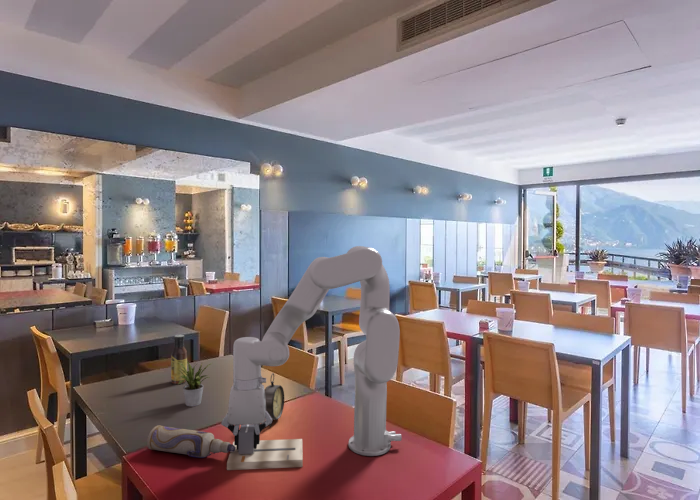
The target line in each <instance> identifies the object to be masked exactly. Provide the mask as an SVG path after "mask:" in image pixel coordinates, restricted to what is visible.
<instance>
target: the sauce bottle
mask: <svg viewBox="0 0 700 500" xmlns="http://www.w3.org/2000/svg"><path fill="white" fill-rule="evenodd" d="M173 340H174V343H173V348H172V351H171V353H170V380H171V384H173V385H178V384H179V382H180V380H181V381H182V380H185V379H182V377H181V376H182V375H183V374H184V375H186V374H187V373H186V374H185V373H184V371H185V370H184V368H183V366H182V365H181V364H183V365H184V367H185V369H186V370H187V371H188V363H187V361H188V350H187V348H186V347H185V335H184V334H175V335H174V336H173ZM178 362H179V363H178ZM180 363H181V364H180ZM179 368H180V369H179ZM181 369H182V370H184V371H182V370H181ZM180 371H181V372H182V373H183V374H182V373H181V372H180ZM185 372H186V371H185ZM186 376H187V375H186ZM175 379H178V380H175ZM184 383H187V381H186V380H185V381H184ZM184 383H183V382H182V383H180V384H181V385H182V384H184ZM180 384H179V385H180Z"/></svg>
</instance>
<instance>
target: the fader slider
mask: <svg viewBox="0 0 700 500" xmlns="http://www.w3.org/2000/svg"><path fill="white" fill-rule="evenodd" d="M254 433H255V427H254V424H247V425H240V426H239V454H253V453H254Z"/></svg>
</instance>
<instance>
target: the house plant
mask: <svg viewBox="0 0 700 500" xmlns="http://www.w3.org/2000/svg"><path fill="white" fill-rule="evenodd" d="M178 363H179V362H178ZM180 364H181V363H180ZM197 364H198V363H197ZM197 364H196V363H194V366H193V367H192V364H190V362H189V361H188V360H187V370H186V369H185V367H184V365H183V364H181V365H182V366H183V368H184V370H185V371H186V372H185V371H184V370H182V369H181V370H182V371H184V373H185V374H186V373H187V374H186V375H187V376H186V375H184V374H183V373H182V372H181V371H180V372H181V373H182V374H183V375H182V376H181V377H182V379H185V380H186V383H187V384H185V382H184V381H185V380H182V381H181V380H180V382H179V384H177V385H178V386H179V385H180V383H181V384H185V386H183V387H182V390H183V396H184V402H185V406H187V407H196V406H199V405H201V402H202V398H203V397H202V396H203V392H204V391H203V390H204V385H203V384H202V382H203V381H205V379H209V378H210V377H209V376H208V375H205V374H204V375H202V373H203V372H204V371H205V370H207V368H208V367H209V366H210V365H212V364H213V362H211V363H209V364H207V365H206V366H205V367H203V368H202V365H203V363H201V364H200V366H199V368H198V370H197V371H196V372H195V367H196V365H197ZM179 369H180V368H179ZM202 378H203V379H202ZM175 380H178V379H175ZM182 382H183V383H182Z"/></svg>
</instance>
